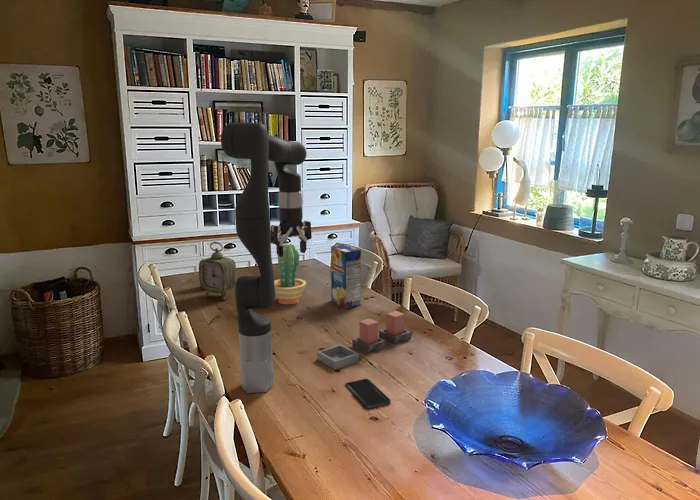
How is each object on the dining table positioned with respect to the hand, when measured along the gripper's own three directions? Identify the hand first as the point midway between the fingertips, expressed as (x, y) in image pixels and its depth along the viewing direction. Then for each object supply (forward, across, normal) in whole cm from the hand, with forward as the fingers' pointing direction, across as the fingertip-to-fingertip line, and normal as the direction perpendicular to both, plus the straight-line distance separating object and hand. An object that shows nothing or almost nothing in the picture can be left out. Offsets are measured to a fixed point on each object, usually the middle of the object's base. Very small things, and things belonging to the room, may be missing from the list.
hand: (291, 254), depth 175 cm
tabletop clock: (+33, +4, +67) cm, 75 cm away
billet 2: (+32, +30, -18) cm, 47 cm away
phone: (+34, -1, -40) cm, 52 cm away
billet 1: (+32, +18, -18) cm, 41 cm away
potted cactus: (+33, +25, +43) cm, 60 cm away
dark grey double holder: (+33, +24, -18) cm, 45 cm away
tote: (+33, +6, -18) cm, 38 cm away
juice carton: (+33, +43, +26) cm, 60 cm away
